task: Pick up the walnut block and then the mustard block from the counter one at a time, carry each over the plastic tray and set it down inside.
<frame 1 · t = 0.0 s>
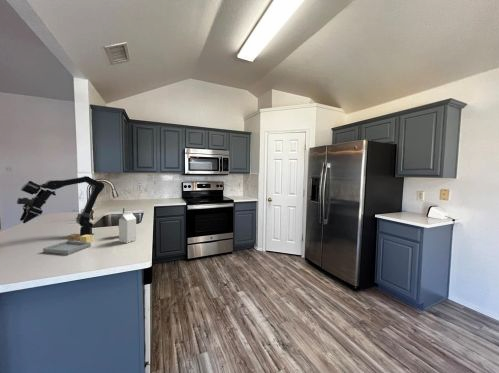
hand: (22, 221, 127), 15 cm above the worktop, tool tilted 35°, fingers open, 9 cm apart
tray: (68, 249, 125), on the worktop
mustard block: (86, 242, 138), on the worktop
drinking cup: (123, 236, 153), on the worktop
milk carton: (127, 241, 143), on the worktop
walnut block: (74, 241, 140), on the worktop
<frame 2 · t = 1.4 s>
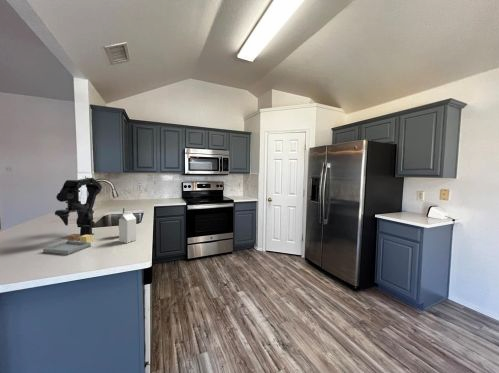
hand: (73, 223, 139), 12 cm above the worktop, tool pointing down, fingers open, 9 cm apart
nothing on the worktop moved.
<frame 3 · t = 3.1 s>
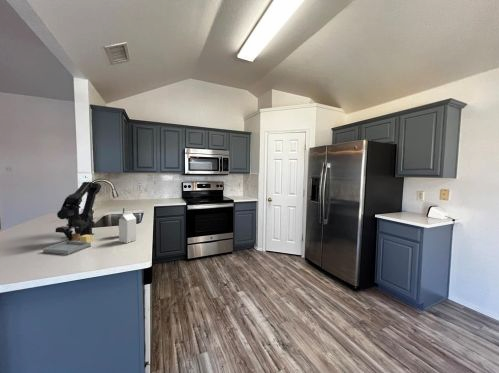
hand: (74, 239, 140), 1 cm above the worktop, tool pointing down, fingers closed on walnut block, 4 cm apart
walnut block: (74, 241, 140), on the worktop, touching gripper
everything else where it was.
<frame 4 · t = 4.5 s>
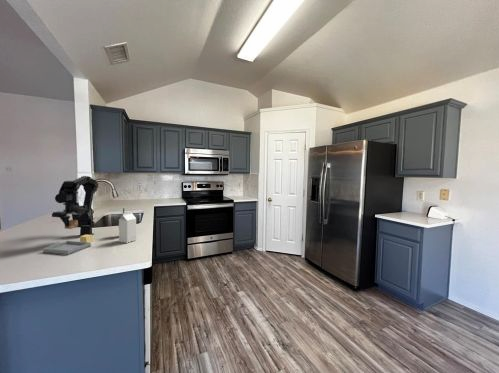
hand: (71, 226, 135), 11 cm above the worktop, tool pointing down, fingers closed on walnut block, 4 cm apart
walnut block: (71, 227, 135), point 10 cm above the worktop, touching gripper
everything else where it was.
when the fingers open (3 cm above the worktop, at t = 6.4 s): walnut block drops 2 cm, resting on tray.
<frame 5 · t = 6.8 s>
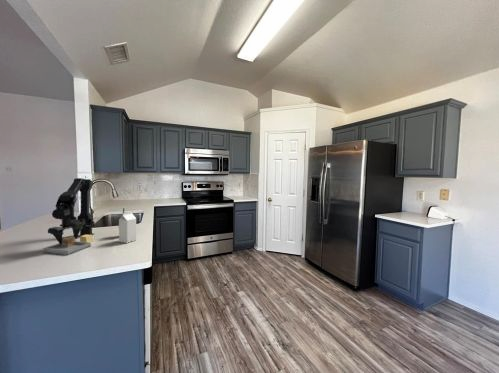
hand: (68, 241, 129), 3 cm above the worktop, tool pointing down, fingers open, 9 cm apart
walnut block: (68, 245, 129), point 1 cm above the worktop, touching tray
everything else where it was.
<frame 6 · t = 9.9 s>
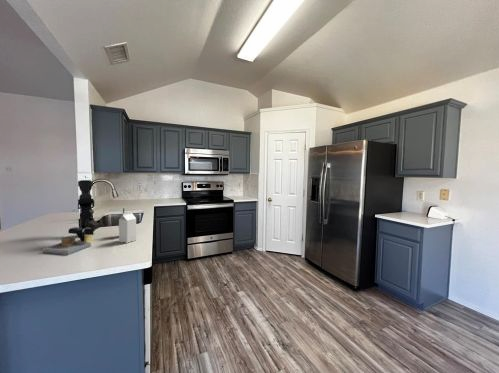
hand: (86, 240, 138), 1 cm above the worktop, tool pointing down, fingers closed on mustard block, 4 cm apart
mustard block: (86, 242, 138), on the worktop, touching gripper
everything else where it was.
when the fingers open (3 cm above the worktop, at t = 13.5 s): mustard block drops 2 cm, resting on tray.
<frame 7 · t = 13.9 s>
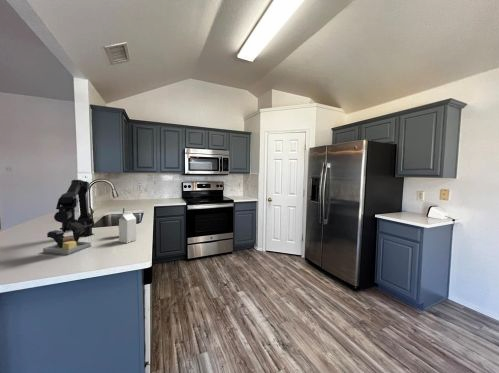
hand: (69, 245, 122), 3 cm above the worktop, tool pointing down, fingers open, 8 cm apart
mustard block: (69, 250, 122), point 1 cm above the worktop, touching tray
everything else where it was.
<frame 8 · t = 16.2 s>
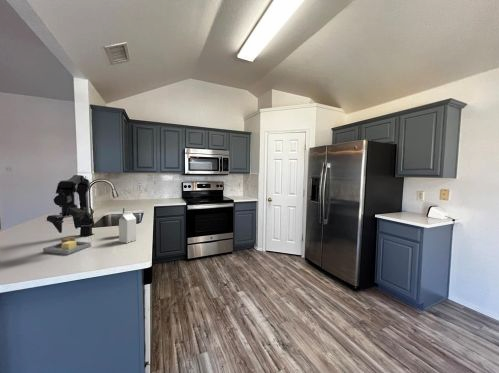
hand: (68, 230, 122), 12 cm above the worktop, tool pointing down, fingers open, 9 cm apart
nothing on the worktop moved.
at the end: walnut block inside the target area on the tray (5.0 cm from its centre), point 0.8 cm above the tray's base; mustard block inside the target area on the tray (4.3 cm from its centre), point 0.8 cm above the tray's base; the gripper is holding nothing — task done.
